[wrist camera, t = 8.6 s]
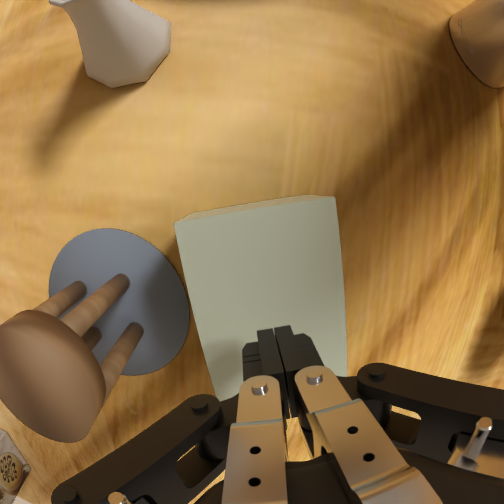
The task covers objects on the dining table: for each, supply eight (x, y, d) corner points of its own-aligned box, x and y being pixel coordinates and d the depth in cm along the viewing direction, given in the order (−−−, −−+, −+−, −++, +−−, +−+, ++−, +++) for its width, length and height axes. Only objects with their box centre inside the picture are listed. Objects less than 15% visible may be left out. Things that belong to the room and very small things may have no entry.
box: (305, 194, 21) (334, 196, 14) (321, 345, 23) (346, 392, 17) (192, 213, 21) (173, 223, 14) (224, 362, 23) (221, 415, 17)
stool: (194, 265, 16) (-37, 362, 6) (220, 374, 17) (46, 486, 8) (103, 260, 23) (-30, 308, 14) (124, 334, 25) (6, 391, 15)
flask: (154, 94, 19) (101, 33, 9) (76, 86, 18) (1, 44, 8) (186, 17, 17) (163, -65, 8) (108, 13, 17) (59, -50, 7)
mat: (169, 213, 20) (168, 213, 20) (205, 368, 23) (205, 369, 23) (34, 244, 20) (33, 245, 20) (78, 375, 23) (77, 376, 23)
